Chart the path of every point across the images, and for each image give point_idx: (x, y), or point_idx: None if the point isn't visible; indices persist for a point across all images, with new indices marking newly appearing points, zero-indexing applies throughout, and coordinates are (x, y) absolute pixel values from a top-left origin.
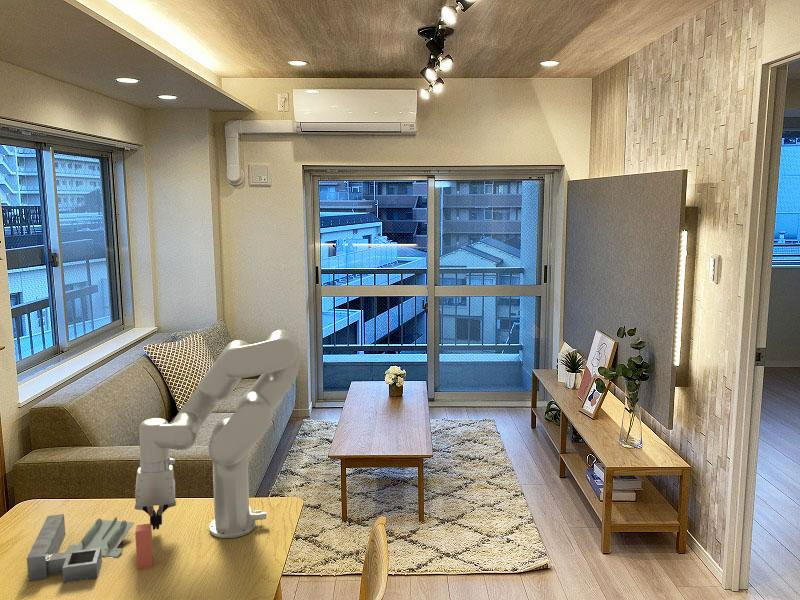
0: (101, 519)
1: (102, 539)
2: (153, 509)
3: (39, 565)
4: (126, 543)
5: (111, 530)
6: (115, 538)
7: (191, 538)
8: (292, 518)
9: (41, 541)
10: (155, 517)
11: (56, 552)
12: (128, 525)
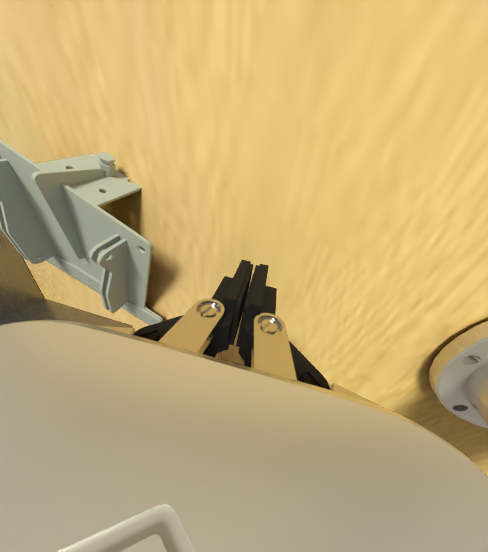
0: None
1: (86, 258)
2: (217, 329)
3: None
4: (167, 276)
5: (86, 237)
6: (122, 290)
7: (354, 347)
8: None
9: None
10: (237, 326)
11: (6, 251)
12: (135, 249)
